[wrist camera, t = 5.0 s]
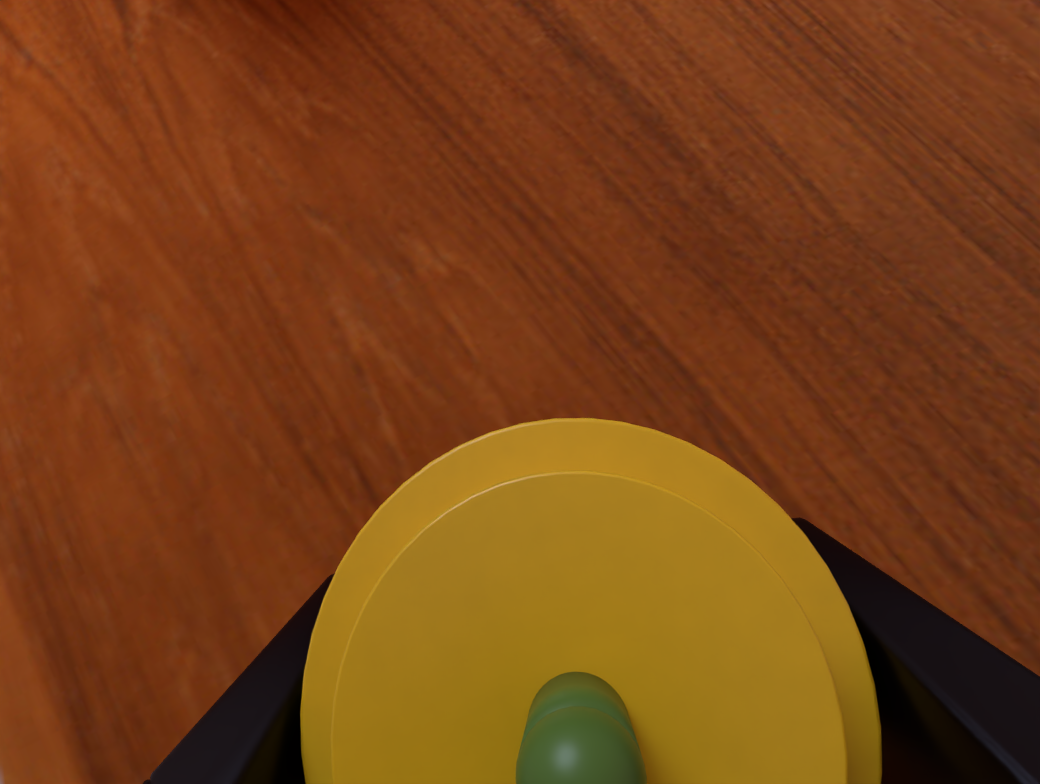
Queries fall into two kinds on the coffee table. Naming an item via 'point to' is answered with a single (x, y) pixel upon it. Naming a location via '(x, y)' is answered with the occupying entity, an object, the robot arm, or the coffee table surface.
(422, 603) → the pepper
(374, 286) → the coffee table surface
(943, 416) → the coffee table surface
